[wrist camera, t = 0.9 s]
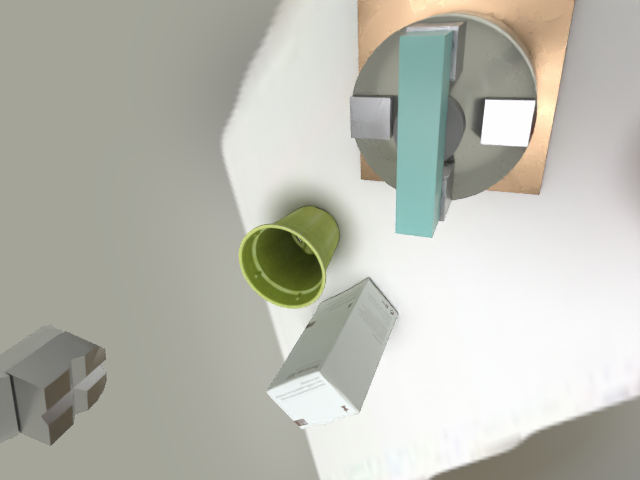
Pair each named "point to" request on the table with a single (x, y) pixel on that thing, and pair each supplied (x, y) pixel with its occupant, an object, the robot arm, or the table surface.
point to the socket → (467, 88)
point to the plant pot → (290, 257)
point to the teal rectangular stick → (424, 129)
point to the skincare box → (335, 357)
